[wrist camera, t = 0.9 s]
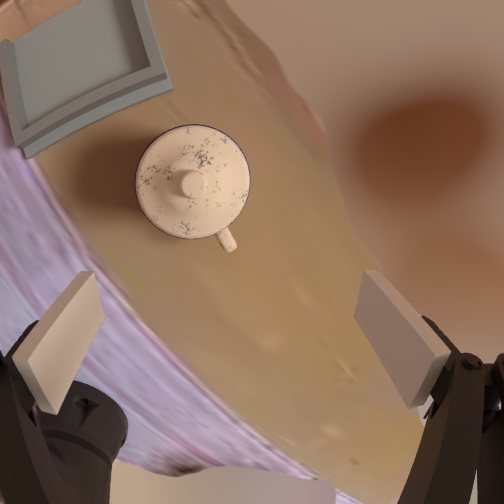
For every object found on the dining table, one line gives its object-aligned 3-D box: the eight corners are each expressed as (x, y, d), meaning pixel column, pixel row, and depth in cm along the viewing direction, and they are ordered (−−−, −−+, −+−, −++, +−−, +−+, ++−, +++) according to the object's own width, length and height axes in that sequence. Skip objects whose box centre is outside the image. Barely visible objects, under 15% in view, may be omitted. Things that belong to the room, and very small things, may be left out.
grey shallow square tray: (29, 158, 26) (16, 159, 23) (7, 49, 20) (-5, 42, 17) (173, 90, 27) (172, 82, 24) (139, -18, 22) (137, -31, 19)
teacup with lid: (132, 162, 29) (104, 163, 18) (208, 118, 29) (221, 96, 18) (189, 256, 33) (192, 304, 22) (260, 215, 34) (297, 243, 23)
